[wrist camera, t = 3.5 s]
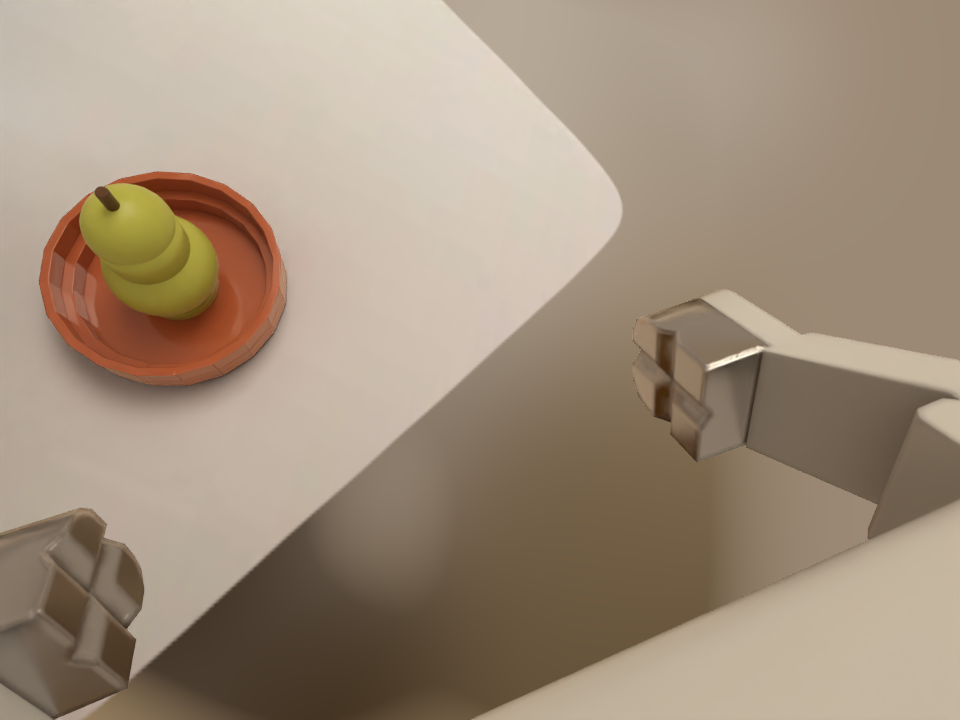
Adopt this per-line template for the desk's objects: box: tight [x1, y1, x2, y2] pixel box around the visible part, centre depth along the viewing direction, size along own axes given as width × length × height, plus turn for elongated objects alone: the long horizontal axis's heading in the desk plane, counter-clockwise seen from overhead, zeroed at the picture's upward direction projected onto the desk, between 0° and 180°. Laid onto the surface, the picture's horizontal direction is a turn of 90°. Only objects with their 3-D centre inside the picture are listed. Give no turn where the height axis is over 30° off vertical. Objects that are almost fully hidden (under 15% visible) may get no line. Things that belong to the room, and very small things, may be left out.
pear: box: [79, 183, 219, 320], centre depth 31 cm, size 6×6×11 cm
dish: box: [39, 172, 287, 386], centre depth 35 cm, size 13×13×3 cm
